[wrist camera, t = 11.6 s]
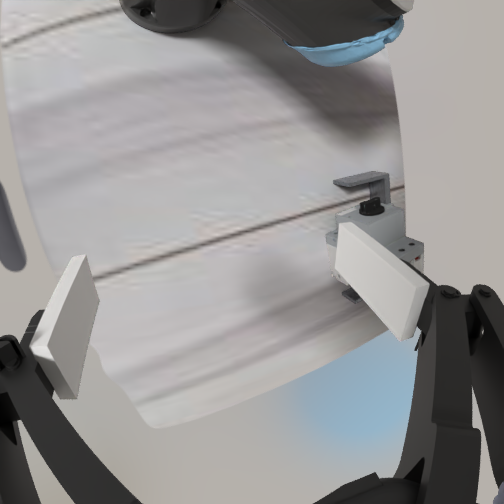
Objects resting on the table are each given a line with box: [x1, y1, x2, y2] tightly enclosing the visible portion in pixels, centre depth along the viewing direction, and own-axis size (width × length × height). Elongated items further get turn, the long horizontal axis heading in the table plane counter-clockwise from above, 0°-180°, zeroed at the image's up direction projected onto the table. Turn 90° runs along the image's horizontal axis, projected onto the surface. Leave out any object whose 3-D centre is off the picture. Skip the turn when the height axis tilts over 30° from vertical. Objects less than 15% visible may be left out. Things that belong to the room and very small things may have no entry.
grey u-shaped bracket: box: [333, 171, 391, 304], centre depth 53 cm, size 22×9×4 cm, turn 11°
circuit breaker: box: [326, 197, 424, 286], centre depth 47 cm, size 8×14×15 cm, turn 15°
